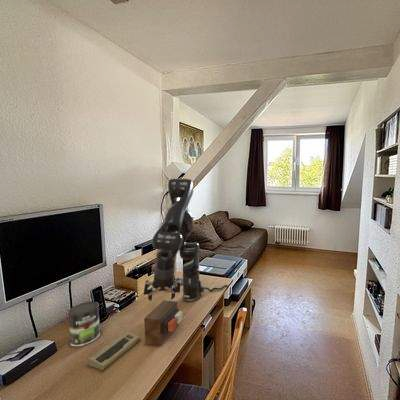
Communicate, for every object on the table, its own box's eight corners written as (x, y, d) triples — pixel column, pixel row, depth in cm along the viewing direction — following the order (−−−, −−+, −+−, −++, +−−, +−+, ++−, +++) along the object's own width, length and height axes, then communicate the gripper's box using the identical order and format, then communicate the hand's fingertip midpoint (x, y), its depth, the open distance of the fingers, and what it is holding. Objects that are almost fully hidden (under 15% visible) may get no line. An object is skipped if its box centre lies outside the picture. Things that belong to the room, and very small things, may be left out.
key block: (145, 344, 94) (144, 318, 92) (164, 323, 107) (163, 300, 106) (164, 346, 92) (163, 320, 91) (181, 325, 106) (180, 301, 105)
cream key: (174, 323, 100) (174, 315, 99) (178, 318, 103) (178, 311, 103) (178, 323, 100) (178, 316, 99) (182, 318, 103) (182, 311, 103)
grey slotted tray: (103, 371, 80) (103, 363, 80) (87, 365, 83) (87, 357, 82) (139, 341, 95) (139, 334, 95) (125, 337, 98) (125, 330, 97)
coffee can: (102, 337, 97) (101, 307, 96) (71, 350, 90) (69, 318, 88) (97, 326, 104) (96, 298, 103) (68, 338, 97) (66, 307, 95)
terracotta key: (167, 331, 94) (167, 323, 94) (172, 325, 98) (172, 318, 98) (172, 331, 94) (172, 323, 94) (176, 326, 98) (176, 318, 97)
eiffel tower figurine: (169, 291, 138) (169, 271, 136) (158, 287, 142) (158, 267, 141) (187, 281, 151) (187, 262, 150) (177, 278, 155) (177, 260, 154)
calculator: (108, 293, 127) (124, 297, 121) (108, 300, 128) (125, 305, 122) (86, 302, 118) (103, 308, 111) (87, 310, 118) (103, 316, 112)
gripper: (183, 264, 96) (179, 290, 103) (146, 265, 91) (144, 292, 98) (182, 278, 90) (178, 304, 97) (143, 279, 85) (142, 307, 91)
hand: (161, 298), depth 97 cm, fingers open, 8 cm apart
